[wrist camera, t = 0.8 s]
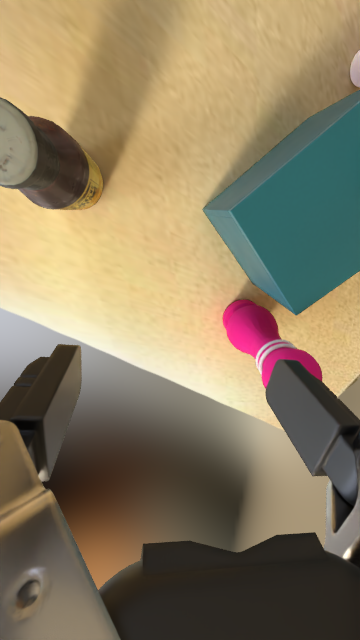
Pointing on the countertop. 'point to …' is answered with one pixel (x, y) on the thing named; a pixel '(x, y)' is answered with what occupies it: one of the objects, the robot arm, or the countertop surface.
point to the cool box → (253, 178)
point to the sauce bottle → (45, 162)
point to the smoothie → (355, 70)
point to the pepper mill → (262, 338)
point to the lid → (309, 215)
